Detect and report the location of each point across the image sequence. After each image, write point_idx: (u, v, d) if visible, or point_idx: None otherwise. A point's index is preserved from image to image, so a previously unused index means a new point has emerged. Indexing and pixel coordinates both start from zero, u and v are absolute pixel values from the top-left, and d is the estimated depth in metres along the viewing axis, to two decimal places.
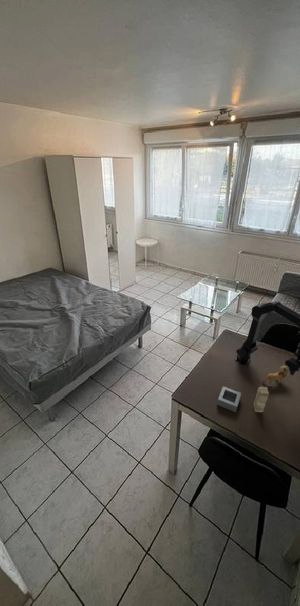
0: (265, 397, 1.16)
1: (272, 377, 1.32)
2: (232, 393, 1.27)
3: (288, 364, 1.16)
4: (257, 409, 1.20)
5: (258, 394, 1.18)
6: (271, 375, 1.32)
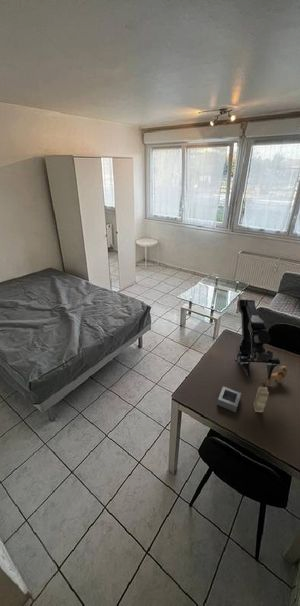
0: (265, 397, 1.16)
1: (271, 377, 1.32)
2: (232, 393, 1.27)
3: (237, 360, 1.27)
4: (257, 409, 1.20)
5: (258, 394, 1.18)
6: None
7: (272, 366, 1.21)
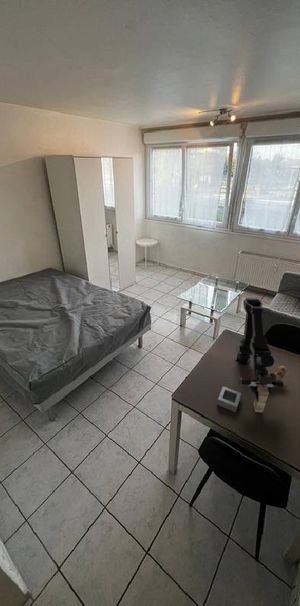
0: (265, 397, 1.16)
1: None
2: (232, 393, 1.27)
3: (239, 381, 1.22)
4: (257, 409, 1.20)
5: (258, 394, 1.18)
6: None
7: (269, 388, 1.17)
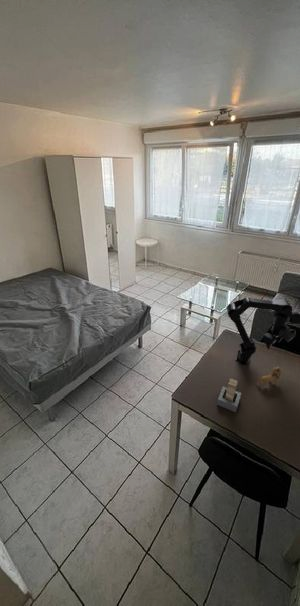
0: (232, 389, 1.19)
1: (266, 379, 1.31)
2: None
3: (264, 338, 1.35)
4: None
5: None
6: (265, 377, 1.31)
7: None
